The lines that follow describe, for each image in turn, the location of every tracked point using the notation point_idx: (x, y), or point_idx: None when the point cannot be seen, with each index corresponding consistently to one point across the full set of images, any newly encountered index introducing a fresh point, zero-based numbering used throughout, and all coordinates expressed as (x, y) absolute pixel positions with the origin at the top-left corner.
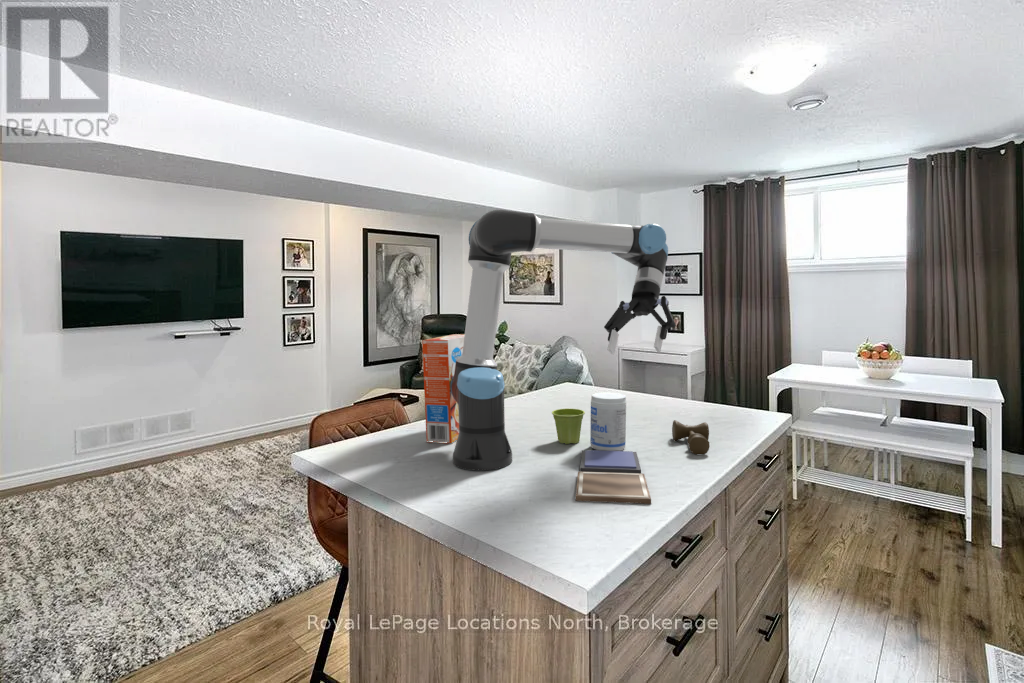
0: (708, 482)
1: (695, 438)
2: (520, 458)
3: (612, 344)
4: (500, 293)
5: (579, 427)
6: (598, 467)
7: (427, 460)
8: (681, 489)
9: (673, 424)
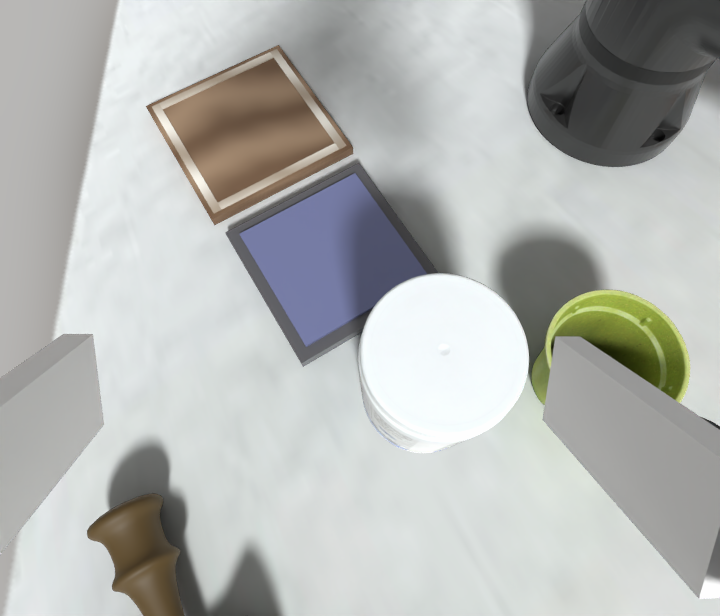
0: (68, 285)
1: (124, 504)
2: (550, 170)
3: (587, 391)
4: None
5: (542, 370)
6: (323, 188)
7: None
8: (116, 210)
9: None
